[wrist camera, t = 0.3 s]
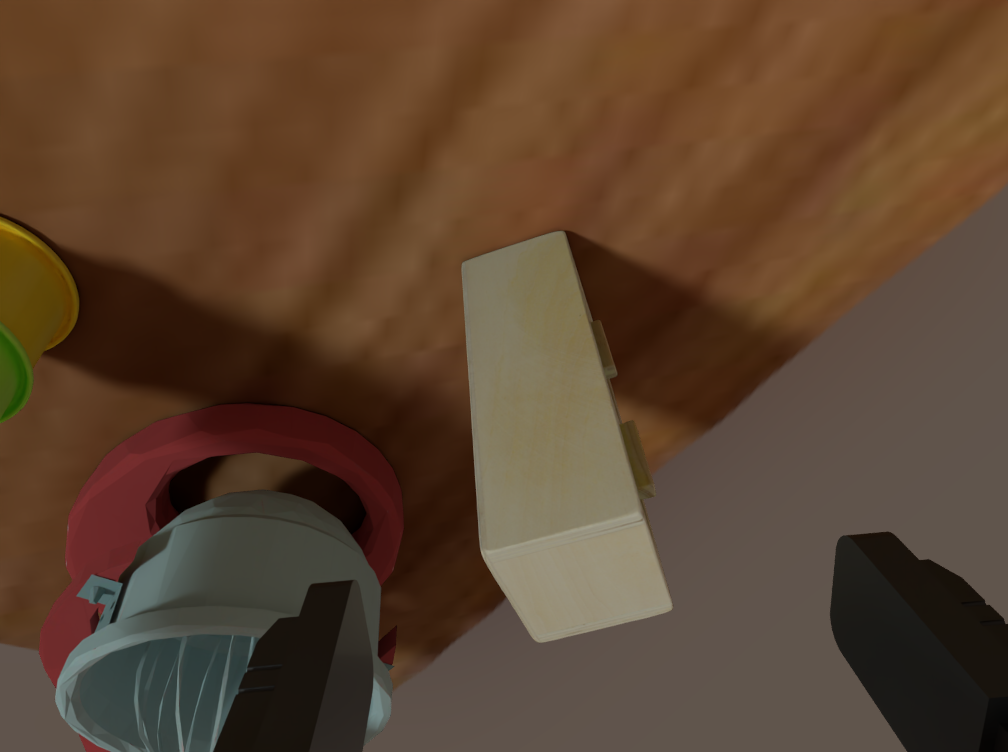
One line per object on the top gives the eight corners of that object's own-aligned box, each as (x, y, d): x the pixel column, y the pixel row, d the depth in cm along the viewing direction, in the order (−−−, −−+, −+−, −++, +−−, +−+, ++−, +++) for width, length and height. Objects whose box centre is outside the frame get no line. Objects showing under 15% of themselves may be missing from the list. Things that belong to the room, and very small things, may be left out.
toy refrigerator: (607, 323, 48) (691, 611, 32) (501, 355, 49) (531, 648, 33) (577, 222, 43) (660, 504, 27) (460, 259, 44) (473, 552, 28)
